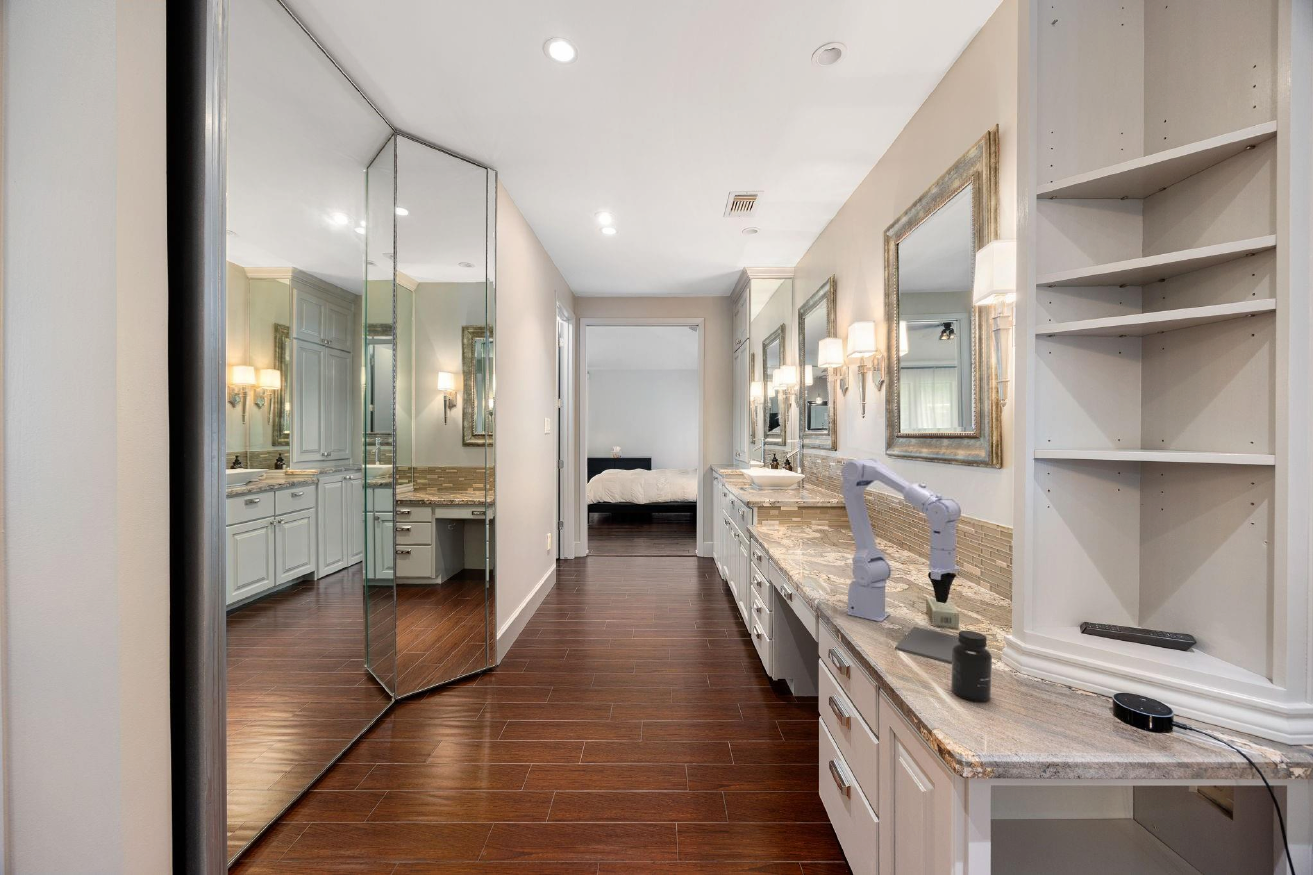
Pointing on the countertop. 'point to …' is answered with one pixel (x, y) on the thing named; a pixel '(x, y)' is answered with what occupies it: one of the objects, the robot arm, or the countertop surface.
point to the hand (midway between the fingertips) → (941, 601)
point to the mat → (929, 644)
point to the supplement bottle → (971, 667)
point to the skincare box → (942, 613)
